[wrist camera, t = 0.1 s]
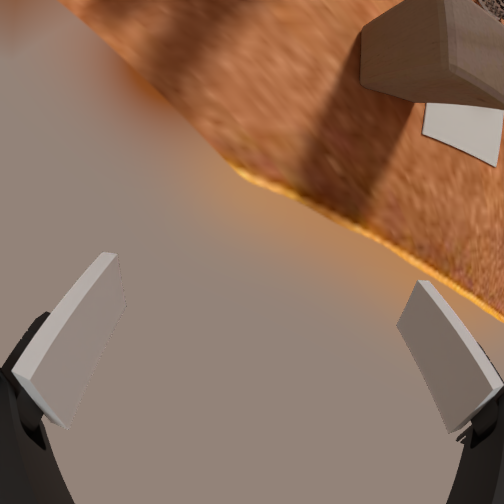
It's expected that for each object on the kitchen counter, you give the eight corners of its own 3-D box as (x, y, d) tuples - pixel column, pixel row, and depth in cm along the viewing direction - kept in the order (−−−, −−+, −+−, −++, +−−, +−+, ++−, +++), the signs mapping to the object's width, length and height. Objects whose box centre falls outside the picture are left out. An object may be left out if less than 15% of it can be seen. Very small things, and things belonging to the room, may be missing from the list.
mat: (429, 33, 24) (430, 32, 24) (503, 82, 25) (504, 82, 25) (421, 133, 33) (422, 133, 32) (494, 166, 34) (495, 167, 33)
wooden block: (416, 104, 31) (517, 115, 13) (356, 87, 30) (448, 72, 12) (418, 46, 26) (512, 28, 8) (359, 26, 26) (438, -24, 8)
